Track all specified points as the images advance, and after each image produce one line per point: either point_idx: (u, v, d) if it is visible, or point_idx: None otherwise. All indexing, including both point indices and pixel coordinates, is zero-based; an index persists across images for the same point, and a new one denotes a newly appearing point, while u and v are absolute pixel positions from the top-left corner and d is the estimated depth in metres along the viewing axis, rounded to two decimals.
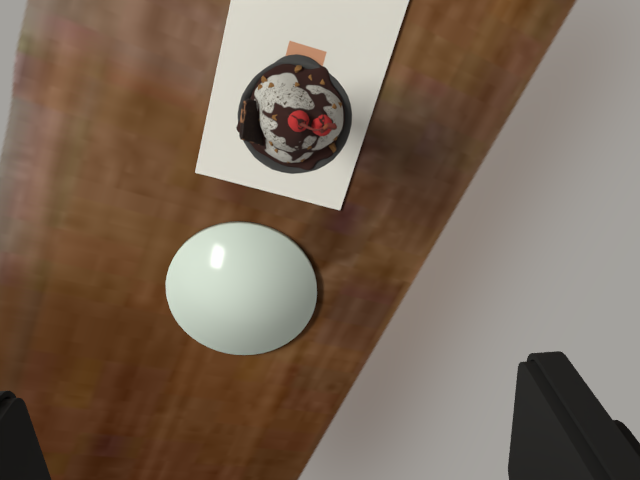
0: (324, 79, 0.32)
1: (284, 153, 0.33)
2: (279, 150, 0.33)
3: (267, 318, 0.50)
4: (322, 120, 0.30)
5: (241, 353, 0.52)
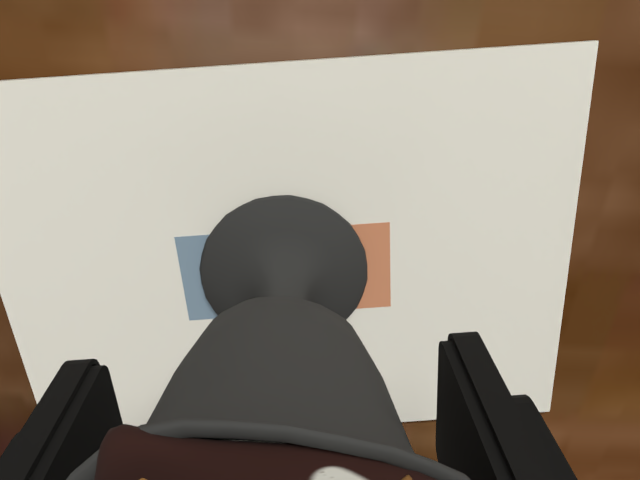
0: None
1: None
2: None
3: None
4: None
5: None
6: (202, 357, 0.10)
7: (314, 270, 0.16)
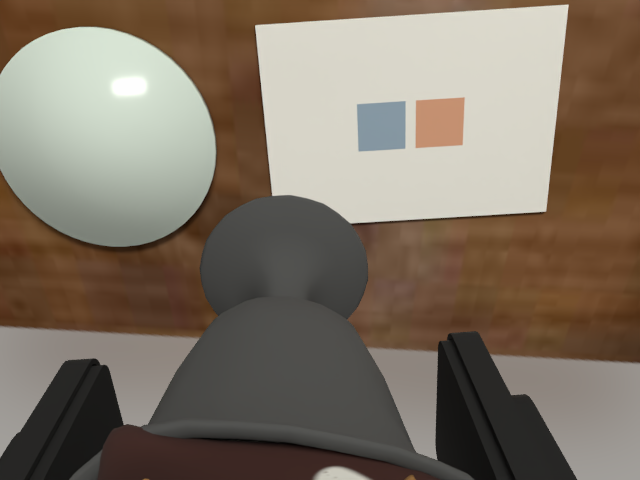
0: None
1: None
2: None
3: (82, 192, 0.34)
4: None
5: (5, 174, 0.34)
6: (203, 357, 0.10)
7: (314, 270, 0.16)
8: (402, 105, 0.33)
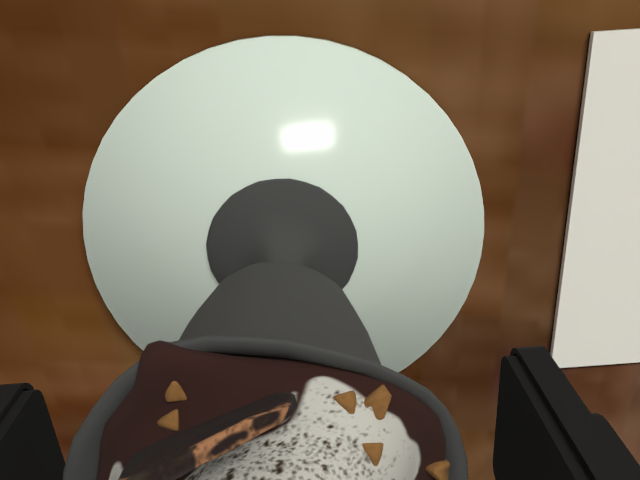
0: None
1: None
2: None
3: None
4: None
5: (106, 295, 0.19)
6: (214, 306, 0.11)
7: (309, 247, 0.18)
8: None
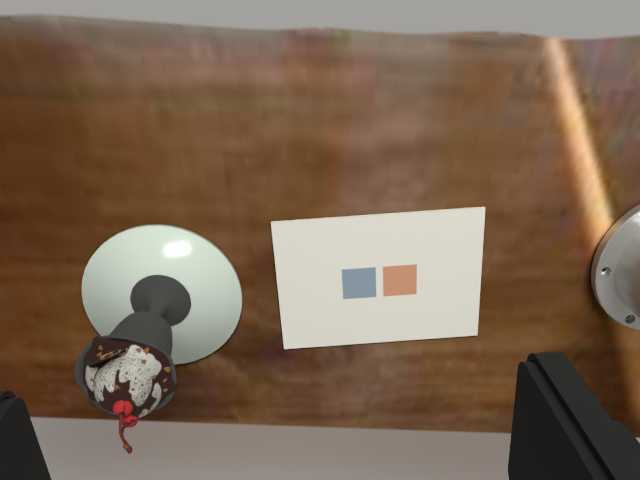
0: (168, 390, 0.38)
1: (92, 386, 0.37)
2: (93, 382, 0.36)
3: None
4: (132, 421, 0.36)
5: (91, 318, 0.47)
6: (118, 326, 0.40)
7: (168, 301, 0.46)
8: (373, 270, 0.47)
